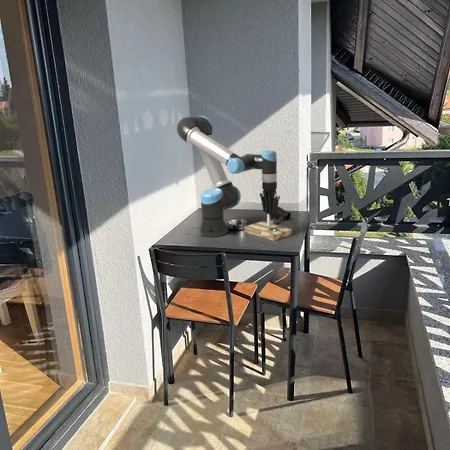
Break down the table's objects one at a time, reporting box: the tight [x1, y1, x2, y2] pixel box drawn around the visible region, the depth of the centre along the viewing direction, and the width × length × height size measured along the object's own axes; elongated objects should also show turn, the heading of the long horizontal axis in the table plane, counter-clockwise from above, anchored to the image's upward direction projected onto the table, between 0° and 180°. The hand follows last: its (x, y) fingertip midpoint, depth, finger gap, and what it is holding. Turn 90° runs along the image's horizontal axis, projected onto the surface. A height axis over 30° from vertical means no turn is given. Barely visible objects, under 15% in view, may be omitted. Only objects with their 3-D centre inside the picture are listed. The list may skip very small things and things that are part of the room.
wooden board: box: [243, 220, 293, 241], centre depth 233 cm, size 14×22×3 cm, turn 40°
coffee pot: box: [273, 205, 292, 225], centre depth 255 cm, size 8×18×8 cm
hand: (270, 225), depth 231 cm, fingers closed
